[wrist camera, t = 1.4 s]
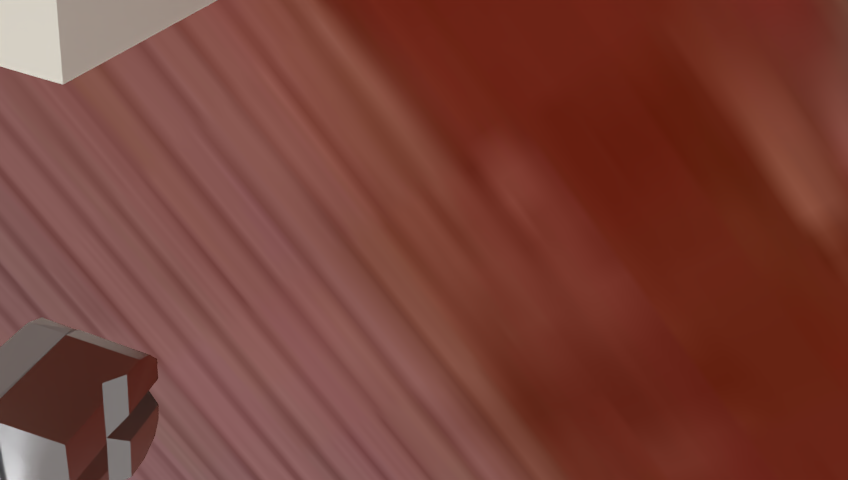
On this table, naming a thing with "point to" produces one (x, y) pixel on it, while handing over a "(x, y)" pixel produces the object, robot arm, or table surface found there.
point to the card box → (80, 32)
